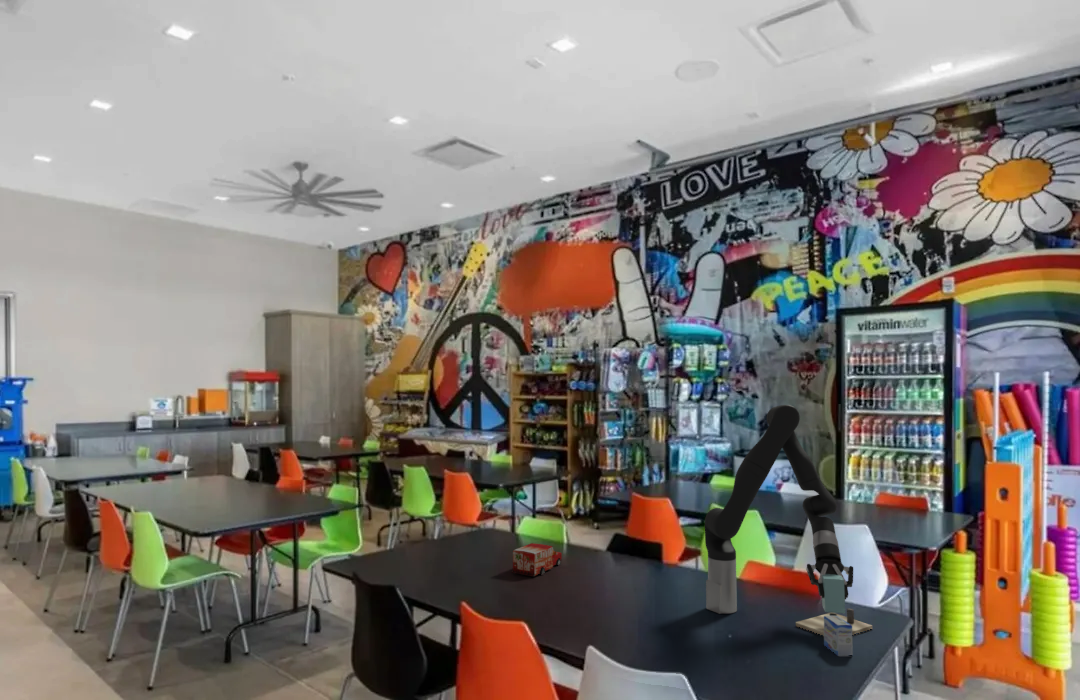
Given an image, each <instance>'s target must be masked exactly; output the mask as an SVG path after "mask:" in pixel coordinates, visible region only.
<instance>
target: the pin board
mask: <svg viewBox="0 0 1080 700" xmlns="http://www.w3.org/2000/svg"><path fill="white" fill-rule="evenodd" d="M854 611H855V610H854V608H846V616H845V615H842V614H840V613H832V612H826V613H825V614H821V615H818V616H814V617H810V618H806V619H802V620H798V621H795V627H797V628H799V627H800V629H802V628H803V630H805V629H806V631H808V630H809V631H808V632H810V631H812V632H811V633H813V632H814V634H816V633H817V634H816V635H818V634H820V635H819V636H821V635H823V636H822V637H824V616H838V617H840V618H841V619H843V620H844V621H846V622H847V623H849V624H850V625H852V635H853V636H855V635H854V634H856V633H859V634H861V633H860V632H863V631H866V632H868V631H867V630H869V631H871V630H870V629H872V630H873V625H872V624H870V623H865V622H863V621H859V620H857V619H855V612H854ZM863 633H864V632H863ZM856 635H857V634H856Z"/></svg>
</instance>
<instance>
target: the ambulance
mask: <svg viewBox="0 0 1080 700" xmlns="http://www.w3.org/2000/svg"><path fill="white" fill-rule="evenodd" d="M562 557H563V555H562V552H560V551H555V549H554V547H553V545H548V544H543V543H534V542H532V543H529V544H527V545H524V546H521V547H518V548H516V549H514V550H512V571H511V573H512V574H517V575H524V576H529V577H536V576H538V574H543V573H545V574H546V571H549V570H551V569H553V568H554V566H555V565H559V564H560V565H561V564H562Z"/></svg>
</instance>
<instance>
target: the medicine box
mask: <svg viewBox="0 0 1080 700" xmlns="http://www.w3.org/2000/svg"><path fill="white" fill-rule="evenodd" d="M823 645H824V647H825V646H826V647H827V648H826V647H825V648H826V649H828V650H829V649H830V650H831V651H830V650H829V651H830V652H832V653H833V652H834V653H833V654H835V655H836V656H837V657H849V656H848V655H853V653H854V651H853V649H854V647H853V636H852V625H850V624H849V623H847V622H846V621H844V620H843V619H841V618H840V617H838V616H824V636H823Z"/></svg>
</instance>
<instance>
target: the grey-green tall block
mask: <svg viewBox="0 0 1080 700" xmlns="http://www.w3.org/2000/svg"><path fill="white" fill-rule="evenodd" d="M843 577H844V576H843ZM843 577H842V576H839V575H836V574H825V575H822V581H823V582H822V584H823V588H824V594H825V596H824V598H822V597H821V605H822V608H823V611H824V612H825V613H831V612H832V613H836V614H846V600H845V592H844V579H845V578H844V579H843Z"/></svg>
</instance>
